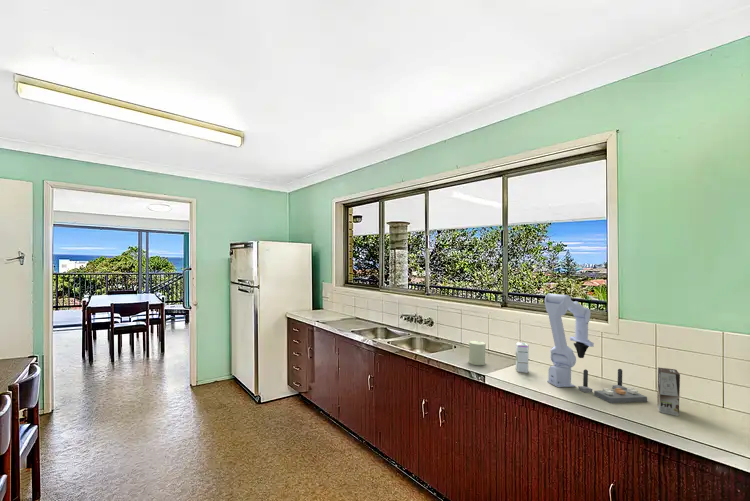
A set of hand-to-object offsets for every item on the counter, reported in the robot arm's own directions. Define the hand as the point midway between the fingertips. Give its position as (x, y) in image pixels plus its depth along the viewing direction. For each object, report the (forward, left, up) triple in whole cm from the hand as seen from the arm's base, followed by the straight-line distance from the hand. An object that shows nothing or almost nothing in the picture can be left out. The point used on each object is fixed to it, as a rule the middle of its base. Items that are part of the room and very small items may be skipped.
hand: (580, 357), depth 191 cm
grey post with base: (+7, -17, -10) cm, 21 cm away
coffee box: (+7, -41, -11) cm, 43 cm away
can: (-42, +30, -11) cm, 53 cm away
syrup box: (-24, +14, -11) cm, 30 cm away
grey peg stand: (-11, -17, -10) cm, 23 cm away
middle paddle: (-2, -27, -8) cm, 28 cm away
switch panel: (-2, -27, -10) cm, 29 cm away
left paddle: (-8, -27, -8) cm, 29 cm away
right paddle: (+4, -27, -8) cm, 28 cm away
